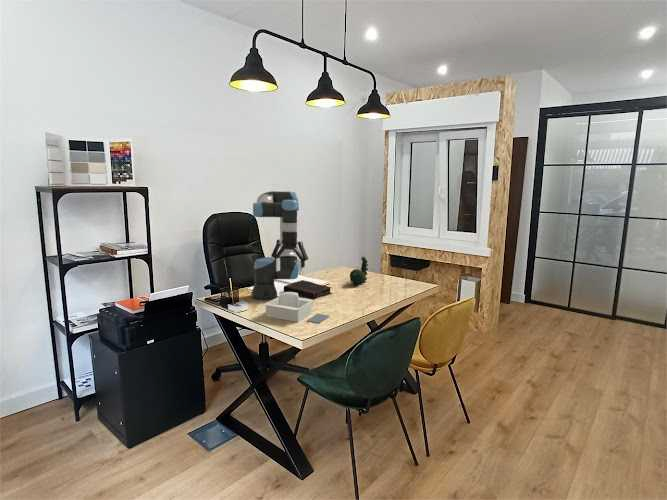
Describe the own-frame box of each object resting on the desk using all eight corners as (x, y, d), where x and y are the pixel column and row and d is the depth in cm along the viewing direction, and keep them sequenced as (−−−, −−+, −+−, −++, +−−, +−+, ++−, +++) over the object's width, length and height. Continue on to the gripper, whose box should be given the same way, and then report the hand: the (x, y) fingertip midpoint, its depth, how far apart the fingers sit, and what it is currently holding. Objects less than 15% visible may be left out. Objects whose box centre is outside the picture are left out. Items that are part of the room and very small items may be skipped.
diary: (313, 301, 233) (313, 292, 232) (283, 293, 248) (283, 285, 247) (333, 294, 248) (333, 286, 247) (303, 287, 263) (303, 279, 262)
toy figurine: (357, 281, 285) (345, 286, 262) (359, 255, 284) (347, 258, 261) (370, 283, 282) (359, 288, 259) (372, 256, 280) (360, 259, 257)
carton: (263, 317, 201) (263, 304, 199) (282, 307, 218) (282, 295, 217) (295, 323, 193) (295, 310, 192) (313, 312, 210) (313, 299, 209)
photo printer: (278, 316, 203) (278, 293, 201) (279, 313, 207) (279, 291, 205) (298, 316, 204) (299, 293, 202) (298, 313, 208) (299, 290, 206)
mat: (306, 321, 197) (306, 320, 197) (317, 314, 208) (317, 313, 207) (319, 323, 194) (319, 322, 194) (329, 316, 205) (329, 315, 205)
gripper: (264, 230, 200) (264, 271, 203) (308, 233, 190) (307, 276, 193) (272, 228, 206) (272, 268, 210) (315, 231, 197) (314, 273, 200)
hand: (289, 272), depth 202 cm, fingers open, 13 cm apart
